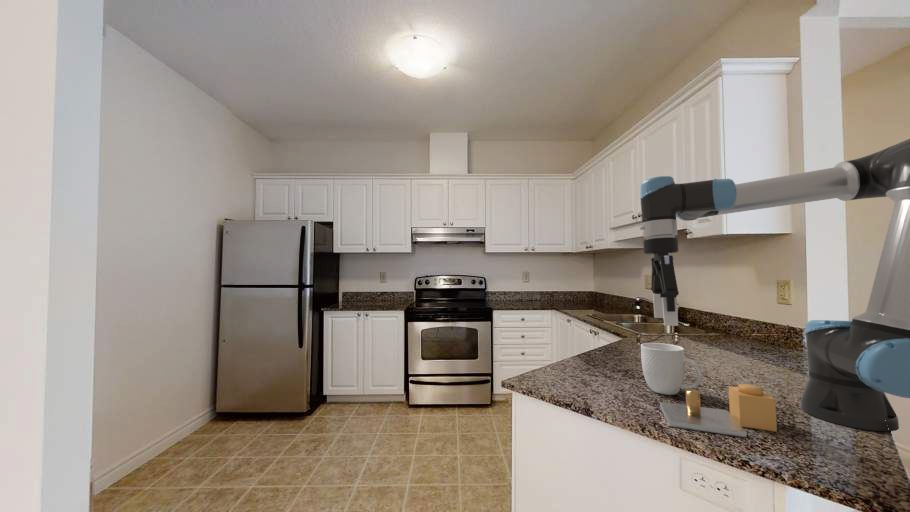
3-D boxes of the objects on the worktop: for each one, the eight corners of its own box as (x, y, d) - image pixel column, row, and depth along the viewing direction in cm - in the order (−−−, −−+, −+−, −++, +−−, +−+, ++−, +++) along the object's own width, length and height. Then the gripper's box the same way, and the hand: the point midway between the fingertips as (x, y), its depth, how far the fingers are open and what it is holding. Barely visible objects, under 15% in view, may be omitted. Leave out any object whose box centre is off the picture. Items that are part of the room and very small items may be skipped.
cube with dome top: (763, 419, 79) (761, 384, 79) (777, 431, 73) (774, 393, 73) (729, 415, 81) (728, 381, 82) (740, 426, 75) (738, 389, 76)
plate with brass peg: (726, 414, 81) (724, 387, 82) (746, 437, 70) (745, 405, 71) (660, 406, 87) (659, 380, 87) (669, 426, 76) (668, 396, 76)
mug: (706, 394, 95) (704, 348, 96) (698, 405, 87) (696, 355, 88) (648, 382, 106) (646, 341, 106) (637, 391, 98) (635, 346, 99)
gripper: (637, 242, 98) (641, 315, 97) (650, 234, 75) (656, 328, 74) (667, 241, 95) (672, 315, 94) (690, 231, 72) (697, 329, 71)
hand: (665, 321), depth 84 cm, fingers open, 13 cm apart
